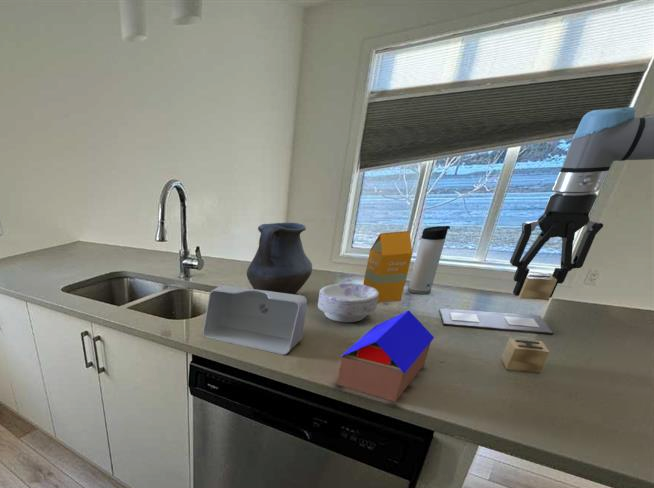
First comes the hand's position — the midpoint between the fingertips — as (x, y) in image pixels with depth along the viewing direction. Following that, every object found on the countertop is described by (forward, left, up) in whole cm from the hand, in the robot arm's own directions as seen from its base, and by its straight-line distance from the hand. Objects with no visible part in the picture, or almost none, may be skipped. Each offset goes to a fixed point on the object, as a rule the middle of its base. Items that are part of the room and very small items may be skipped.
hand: (531, 294), depth 100 cm
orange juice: (+32, -14, -8) cm, 36 cm away
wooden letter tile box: (0, 0, 0) cm, 0 cm away
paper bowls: (+41, +6, -8) cm, 42 cm away
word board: (+6, 0, -8) cm, 10 cm away
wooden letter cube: (+5, +26, -8) cm, 28 cm away
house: (+31, +39, -8) cm, 50 cm away
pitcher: (+63, -5, -8) cm, 64 cm away
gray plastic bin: (+62, +26, -8) cm, 67 cm away
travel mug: (+21, -23, -8) cm, 32 cm away
